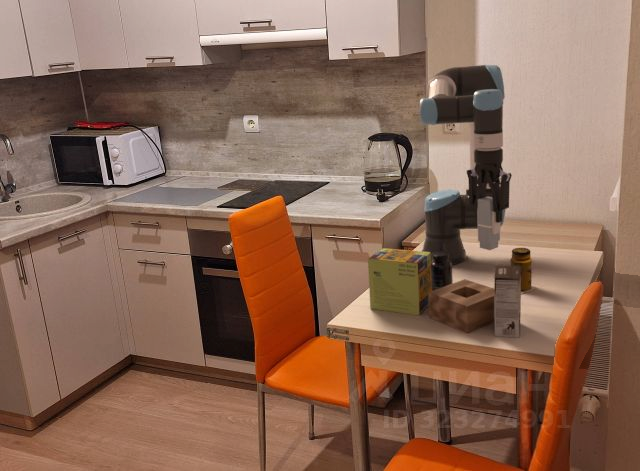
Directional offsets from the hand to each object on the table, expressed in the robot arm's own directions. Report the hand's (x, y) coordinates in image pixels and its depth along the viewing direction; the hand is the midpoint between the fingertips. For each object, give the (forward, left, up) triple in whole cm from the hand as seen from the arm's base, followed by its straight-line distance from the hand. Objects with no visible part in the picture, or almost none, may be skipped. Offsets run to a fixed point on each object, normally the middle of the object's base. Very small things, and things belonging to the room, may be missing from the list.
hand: (488, 231), depth 186 cm
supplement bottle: (-15, -4, -21) cm, 26 cm away
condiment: (0, +13, -21) cm, 25 cm away
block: (+4, -14, -21) cm, 25 cm away
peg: (0, 0, -5) cm, 5 cm away
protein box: (-15, -20, -21) cm, 33 cm away
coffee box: (+16, -12, -21) cm, 29 cm away
